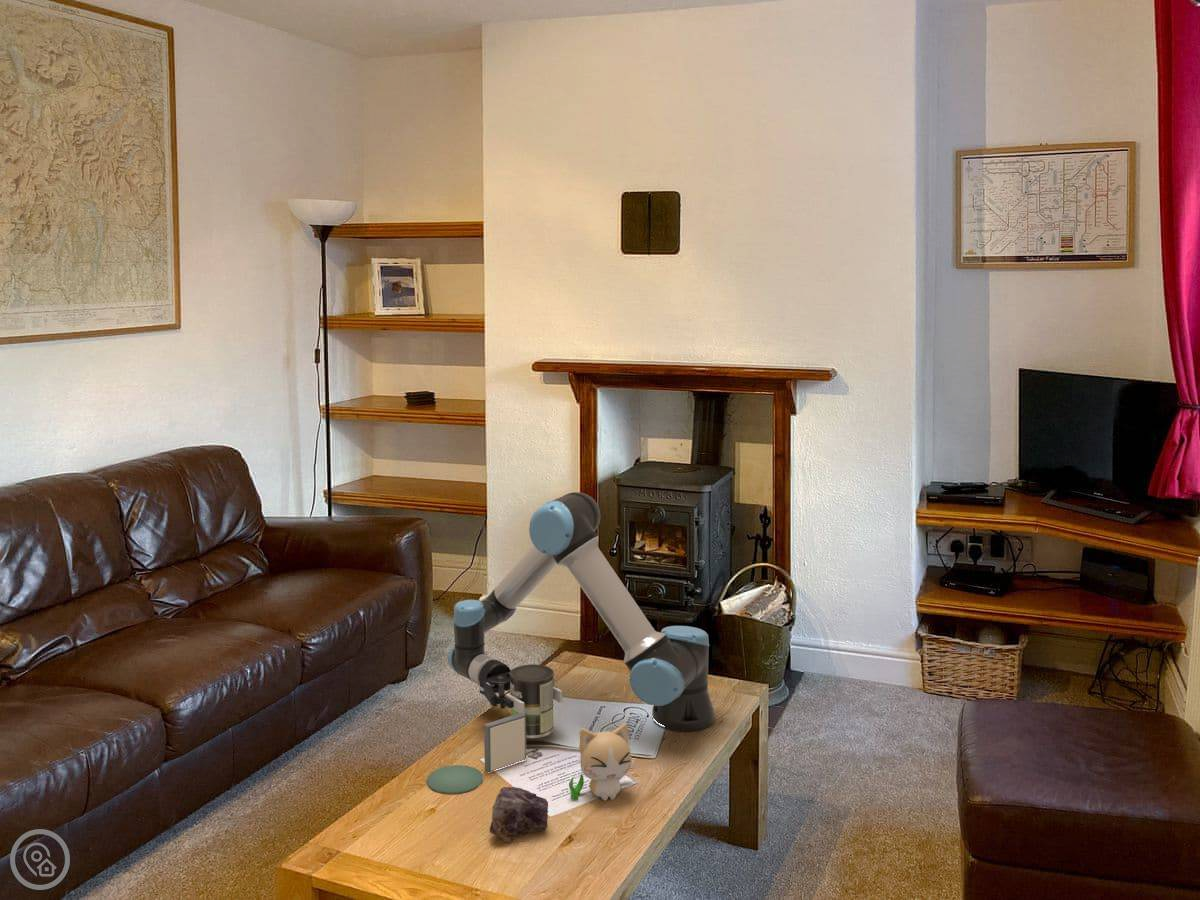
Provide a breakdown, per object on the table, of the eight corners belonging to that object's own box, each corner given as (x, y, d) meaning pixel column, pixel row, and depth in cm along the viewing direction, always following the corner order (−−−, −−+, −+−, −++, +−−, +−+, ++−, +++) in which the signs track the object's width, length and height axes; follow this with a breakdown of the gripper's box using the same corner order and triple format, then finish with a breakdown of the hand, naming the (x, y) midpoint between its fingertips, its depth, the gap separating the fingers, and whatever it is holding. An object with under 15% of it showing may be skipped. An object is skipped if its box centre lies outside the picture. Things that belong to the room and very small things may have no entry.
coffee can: (519, 742, 256) (518, 683, 253) (504, 724, 265) (503, 668, 262) (561, 733, 260) (560, 676, 258) (544, 716, 269) (543, 661, 267)
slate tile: (484, 770, 247) (484, 724, 245) (522, 758, 253) (521, 712, 251) (489, 773, 246) (488, 727, 244) (526, 761, 252) (526, 715, 250)
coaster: (494, 778, 244) (494, 775, 244) (455, 799, 234) (455, 797, 234) (454, 762, 251) (454, 760, 251) (415, 782, 241) (415, 780, 241)
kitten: (575, 810, 230) (575, 742, 228) (563, 787, 240) (563, 722, 237) (644, 800, 235) (644, 733, 232) (629, 778, 244) (630, 714, 241)
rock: (549, 843, 220) (532, 817, 229) (556, 803, 219) (539, 779, 228) (492, 846, 216) (478, 820, 225) (499, 805, 214) (484, 780, 223)
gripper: (528, 677, 283) (581, 705, 265) (451, 699, 269) (501, 731, 252) (528, 649, 281) (581, 675, 264) (450, 670, 268) (500, 699, 250)
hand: (542, 702), depth 258 cm, fingers closed on coffee can, 10 cm apart
